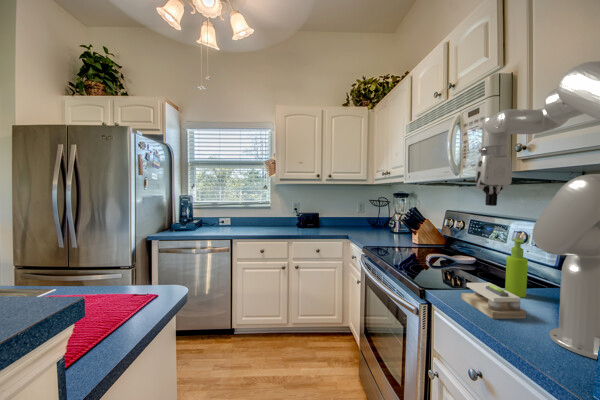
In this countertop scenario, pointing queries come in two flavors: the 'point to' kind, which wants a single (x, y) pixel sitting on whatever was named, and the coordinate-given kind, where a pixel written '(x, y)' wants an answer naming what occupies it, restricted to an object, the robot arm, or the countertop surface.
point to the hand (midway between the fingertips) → (490, 205)
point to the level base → (488, 312)
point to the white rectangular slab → (493, 292)
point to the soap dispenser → (516, 271)
